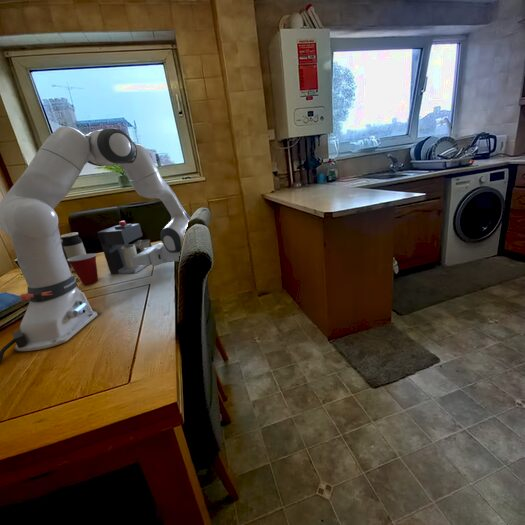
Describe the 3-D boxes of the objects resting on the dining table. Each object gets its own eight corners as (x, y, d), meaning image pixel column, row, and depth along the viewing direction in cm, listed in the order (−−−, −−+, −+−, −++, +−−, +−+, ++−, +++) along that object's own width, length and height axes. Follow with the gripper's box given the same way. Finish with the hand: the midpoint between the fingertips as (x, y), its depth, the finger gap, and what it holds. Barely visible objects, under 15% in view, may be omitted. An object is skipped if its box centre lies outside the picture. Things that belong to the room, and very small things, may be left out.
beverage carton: (153, 248, 161) (150, 237, 159) (143, 259, 143) (139, 247, 141) (139, 250, 161) (136, 239, 158) (127, 261, 143) (123, 249, 140)
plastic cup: (109, 275, 126) (101, 250, 121) (94, 286, 115) (84, 259, 111) (88, 277, 127) (79, 252, 123) (70, 287, 117) (60, 261, 113)
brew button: (123, 225, 122) (122, 221, 122) (118, 225, 123) (117, 222, 122) (127, 224, 124) (126, 220, 124) (122, 224, 125) (121, 220, 124)
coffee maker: (133, 274, 124) (120, 228, 117) (110, 274, 127) (96, 230, 120) (150, 263, 136) (138, 221, 129) (129, 264, 139) (116, 222, 131)
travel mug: (82, 271, 136) (69, 236, 129) (68, 272, 137) (55, 237, 131) (94, 265, 143) (82, 231, 137) (81, 266, 144) (68, 232, 138)
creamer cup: (137, 267, 128) (132, 247, 125) (124, 268, 128) (118, 249, 124) (141, 262, 134) (136, 243, 130) (129, 264, 133) (123, 245, 130)
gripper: (173, 238, 133) (148, 240, 136) (149, 253, 114) (120, 254, 117) (176, 251, 135) (151, 252, 138) (153, 267, 117) (125, 268, 120)
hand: (137, 253), depth 128 cm, fingers open, 8 cm apart
